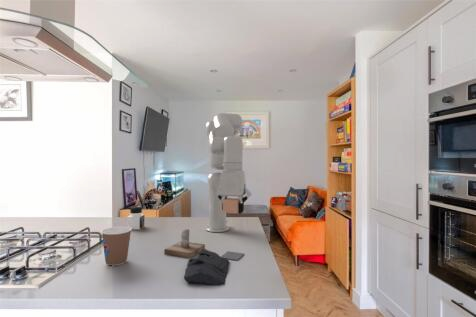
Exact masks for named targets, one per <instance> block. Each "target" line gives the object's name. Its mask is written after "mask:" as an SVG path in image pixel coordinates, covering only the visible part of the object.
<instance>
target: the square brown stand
mask: <svg viewBox="0 0 476 317" xmlns="http://www.w3.org/2000/svg"><path fill="white" fill-rule="evenodd" d="M180 231H181V239H180V241H178V242H176V243H175V244H172V245H170V246H168V247H166V248H164V250H163V252H164V255H167V256H168V255H169V256H173V257H174V256H175V257H181V258H187V259H192V258H193V257H195V256H196V255H199V253H200V252H201V250H203V249H205V250H206V244H205V243H199V242H198V243H196V242H191V241H190V228H183V229H181V230H180Z"/></svg>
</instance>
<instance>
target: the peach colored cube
mask: <svg viewBox="0 0 476 317" xmlns="http://www.w3.org/2000/svg"><path fill="white" fill-rule="evenodd" d="M239 203H240V202H239V199H238V197H227V198H226V199H223V212H224V213H226V214H239Z"/></svg>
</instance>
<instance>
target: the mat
mask: <svg viewBox="0 0 476 317" xmlns="http://www.w3.org/2000/svg"><path fill="white" fill-rule="evenodd" d="M244 255H245V253H243V252H237V251H231V250H228V251H226V252H225V253H223V254H222V255H221V256H220V257H222V258H225V259H227V260H230V261H236V262H237V261H239V260H240V259H241V258H242V257H243V256H244Z"/></svg>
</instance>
